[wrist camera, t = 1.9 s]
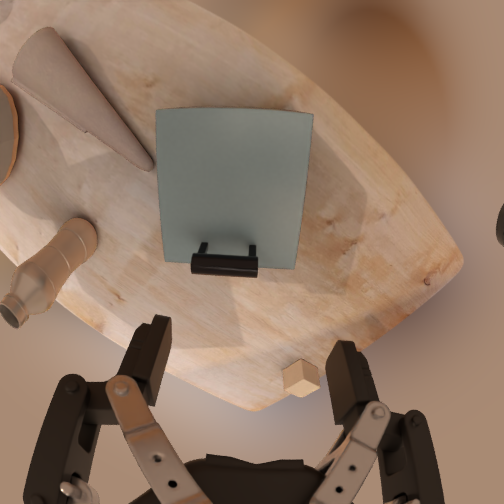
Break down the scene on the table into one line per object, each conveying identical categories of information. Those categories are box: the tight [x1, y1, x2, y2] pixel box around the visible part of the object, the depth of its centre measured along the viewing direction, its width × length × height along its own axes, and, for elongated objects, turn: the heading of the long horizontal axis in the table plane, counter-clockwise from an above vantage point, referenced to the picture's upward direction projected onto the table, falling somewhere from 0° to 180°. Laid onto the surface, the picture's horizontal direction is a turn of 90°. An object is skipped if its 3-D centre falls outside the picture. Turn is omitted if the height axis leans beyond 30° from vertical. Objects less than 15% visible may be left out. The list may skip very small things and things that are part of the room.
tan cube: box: [283, 359, 320, 398], centre depth 50 cm, size 5×5×5 cm
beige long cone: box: [11, 27, 154, 172], centre depth 26 cm, size 8×9×26 cm
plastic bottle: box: [0, 218, 97, 329], centre depth 30 cm, size 6×7×20 cm
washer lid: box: [156, 108, 314, 278], centre depth 23 cm, size 15×13×5 cm
